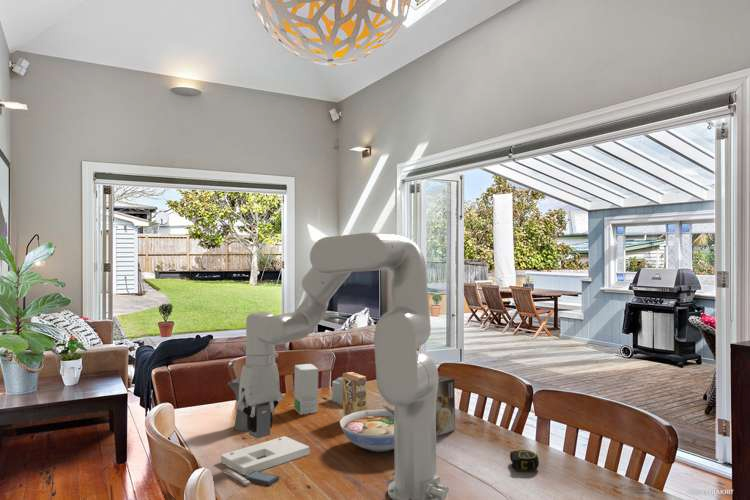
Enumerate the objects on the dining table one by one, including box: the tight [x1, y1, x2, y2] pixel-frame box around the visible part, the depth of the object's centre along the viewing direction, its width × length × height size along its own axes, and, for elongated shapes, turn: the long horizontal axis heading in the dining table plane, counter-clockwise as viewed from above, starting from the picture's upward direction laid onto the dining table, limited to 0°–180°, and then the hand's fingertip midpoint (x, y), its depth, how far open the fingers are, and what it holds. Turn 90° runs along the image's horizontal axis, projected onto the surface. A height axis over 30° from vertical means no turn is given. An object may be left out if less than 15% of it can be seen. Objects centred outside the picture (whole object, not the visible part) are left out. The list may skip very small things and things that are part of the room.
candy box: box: [342, 371, 368, 417], centre depth 170 cm, size 9×4×15 cm, turn 33°
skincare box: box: [293, 363, 319, 416], centre depth 182 cm, size 8×7×16 cm
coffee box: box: [436, 375, 456, 437], centre depth 160 cm, size 9×6×16 cm
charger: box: [248, 403, 271, 439], centre depth 138 cm, size 4×4×8 cm
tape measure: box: [509, 449, 540, 472], centre depth 132 cm, size 7×7×4 cm
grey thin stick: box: [223, 468, 251, 487], centre depth 127 cm, size 11×1×1 cm, turn 44°
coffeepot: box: [227, 377, 249, 432], centre depth 166 cm, size 15×9×18 cm, turn 121°
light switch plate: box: [220, 435, 311, 476], centre depth 140 cm, size 12×20×2 cm, turn 134°
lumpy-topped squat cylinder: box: [331, 376, 368, 405], centre depth 194 cm, size 10×13×9 cm
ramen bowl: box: [339, 405, 394, 453], centre depth 147 cm, size 25×23×8 cm
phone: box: [244, 471, 280, 487], centre depth 126 cm, size 8×4×1 cm, turn 64°
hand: (259, 428), depth 138 cm, fingers closed on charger, 4 cm apart
